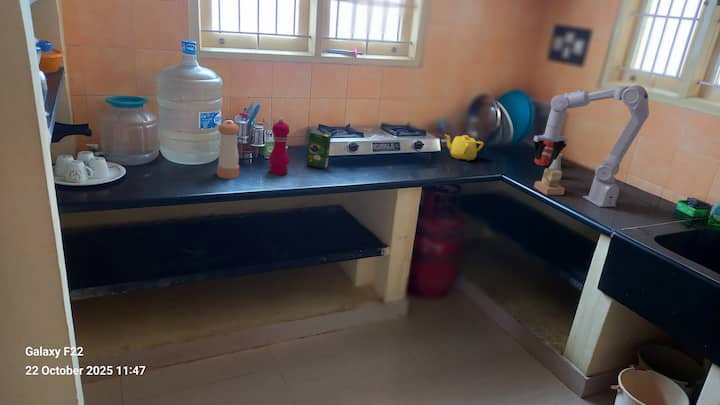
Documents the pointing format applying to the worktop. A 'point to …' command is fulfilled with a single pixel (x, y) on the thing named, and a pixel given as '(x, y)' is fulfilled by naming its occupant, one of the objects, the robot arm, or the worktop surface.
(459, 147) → the teapot
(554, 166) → the flask
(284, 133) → the pepper mill
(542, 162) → the beverage can
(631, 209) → the worktop surface
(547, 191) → the base
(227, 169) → the salt shaker
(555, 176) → the block
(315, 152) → the coffee box
